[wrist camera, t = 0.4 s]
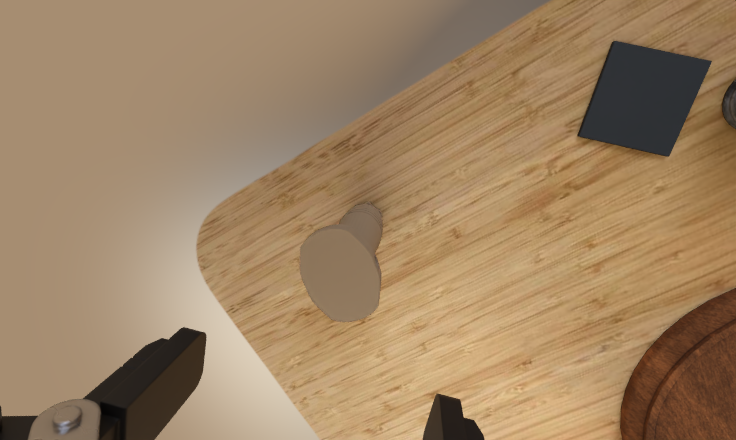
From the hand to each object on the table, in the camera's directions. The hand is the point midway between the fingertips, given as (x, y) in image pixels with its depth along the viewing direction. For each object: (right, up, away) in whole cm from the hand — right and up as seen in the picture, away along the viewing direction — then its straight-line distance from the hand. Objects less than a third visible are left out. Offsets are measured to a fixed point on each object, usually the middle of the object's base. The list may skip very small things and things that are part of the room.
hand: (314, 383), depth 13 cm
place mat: (+25, +16, +20) cm, 36 cm away
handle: (+2, +6, +26) cm, 26 cm away
